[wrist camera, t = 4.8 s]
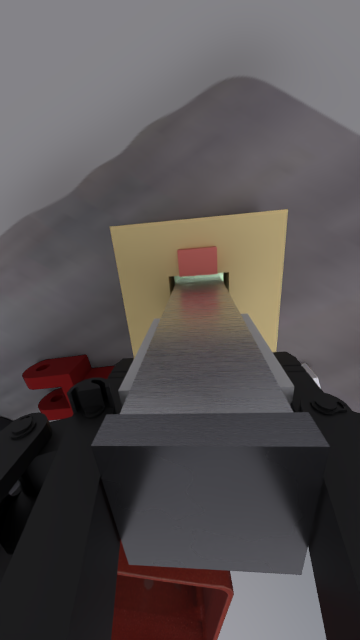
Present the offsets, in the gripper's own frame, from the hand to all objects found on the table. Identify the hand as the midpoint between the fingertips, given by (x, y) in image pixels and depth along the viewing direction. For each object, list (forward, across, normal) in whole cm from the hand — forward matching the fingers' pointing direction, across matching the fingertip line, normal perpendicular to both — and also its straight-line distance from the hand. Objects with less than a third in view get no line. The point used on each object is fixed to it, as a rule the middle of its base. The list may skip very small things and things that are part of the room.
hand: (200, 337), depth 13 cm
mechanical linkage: (+15, -17, -13) cm, 26 cm away
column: (+12, 0, 0) cm, 12 cm away
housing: (+15, 0, 0) cm, 15 cm away
